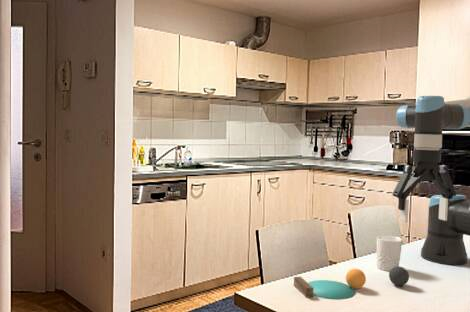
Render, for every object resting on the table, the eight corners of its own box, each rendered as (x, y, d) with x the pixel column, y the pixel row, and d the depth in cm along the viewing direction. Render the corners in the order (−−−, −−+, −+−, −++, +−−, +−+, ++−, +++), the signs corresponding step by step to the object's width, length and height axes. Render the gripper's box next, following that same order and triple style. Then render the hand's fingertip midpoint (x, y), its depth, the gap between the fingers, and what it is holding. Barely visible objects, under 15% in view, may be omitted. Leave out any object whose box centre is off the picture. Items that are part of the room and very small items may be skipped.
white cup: (402, 273, 145) (403, 242, 144) (376, 270, 146) (378, 240, 146) (398, 265, 152) (400, 236, 152) (373, 263, 154) (375, 234, 153)
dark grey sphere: (401, 281, 137) (402, 263, 136) (412, 288, 131) (413, 269, 131) (384, 282, 135) (385, 264, 135) (395, 289, 130) (396, 270, 130)
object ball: (359, 284, 133) (360, 265, 133) (368, 290, 128) (369, 271, 128) (341, 285, 132) (342, 266, 132) (351, 291, 127) (352, 272, 126)
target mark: (340, 279, 136) (340, 279, 136) (364, 297, 123) (364, 296, 123) (297, 282, 133) (297, 281, 133) (316, 300, 120) (316, 299, 120)
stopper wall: (300, 285, 131) (300, 276, 130) (312, 296, 122) (313, 287, 122) (293, 285, 130) (294, 277, 130) (306, 297, 121) (306, 288, 121)
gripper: (453, 148, 140) (449, 216, 142) (382, 147, 133) (379, 219, 135) (472, 150, 133) (467, 221, 134) (398, 149, 126) (394, 224, 128)
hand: (423, 220), depth 135 cm, fingers open, 13 cm apart
